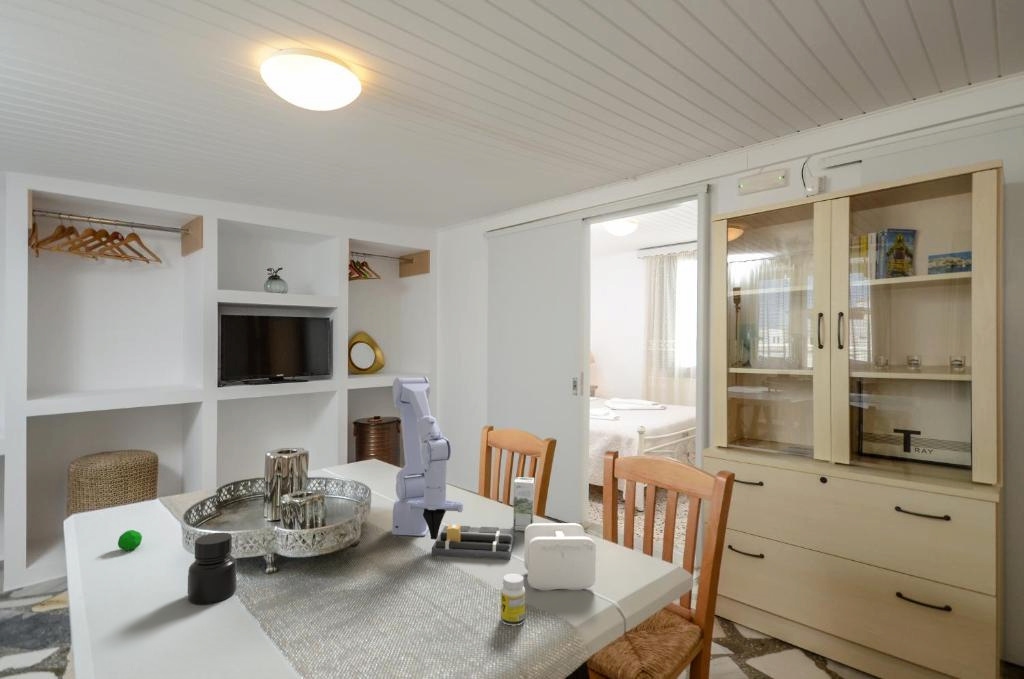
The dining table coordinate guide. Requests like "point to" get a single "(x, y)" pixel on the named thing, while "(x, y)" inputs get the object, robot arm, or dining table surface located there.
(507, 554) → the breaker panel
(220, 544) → the ink bottle
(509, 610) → the supplement bottle
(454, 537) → the block
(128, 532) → the polyhedron
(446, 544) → the cable bundles
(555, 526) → the cable organizer
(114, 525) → the dining table surface
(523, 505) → the syrup box
